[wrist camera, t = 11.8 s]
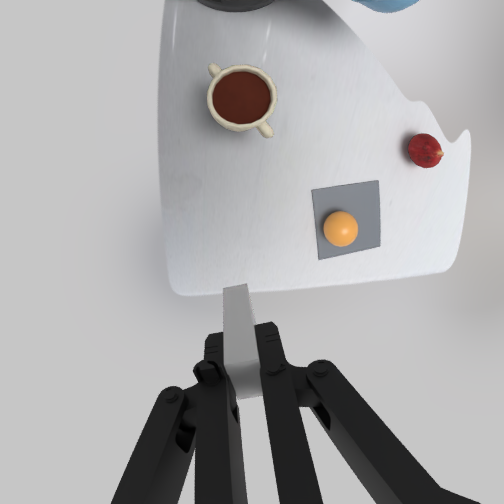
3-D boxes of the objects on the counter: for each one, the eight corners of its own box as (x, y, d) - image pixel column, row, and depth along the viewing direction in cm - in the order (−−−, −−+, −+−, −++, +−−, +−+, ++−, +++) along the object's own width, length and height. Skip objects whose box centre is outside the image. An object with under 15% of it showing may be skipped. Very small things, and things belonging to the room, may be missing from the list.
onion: (406, 170, 41) (435, 178, 34) (395, 140, 39) (423, 143, 32) (428, 156, 41) (456, 163, 33) (417, 127, 38) (446, 130, 31)
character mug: (194, 97, 35) (179, 79, 23) (233, 68, 33) (236, 39, 22) (241, 152, 39) (247, 158, 27) (279, 123, 37) (303, 117, 25)
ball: (336, 218, 38) (365, 213, 39) (316, 210, 42) (344, 205, 44) (336, 255, 40) (364, 247, 41) (317, 243, 44) (344, 237, 46)
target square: (311, 190, 42) (312, 190, 42) (378, 180, 42) (378, 180, 42) (318, 259, 47) (319, 260, 46) (379, 245, 47) (380, 246, 46)
